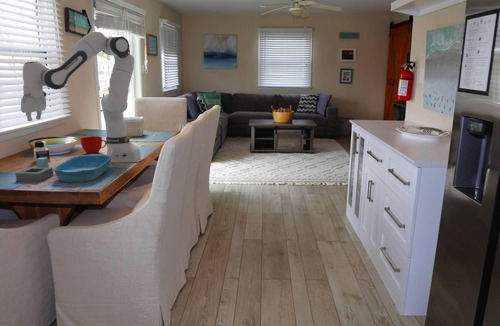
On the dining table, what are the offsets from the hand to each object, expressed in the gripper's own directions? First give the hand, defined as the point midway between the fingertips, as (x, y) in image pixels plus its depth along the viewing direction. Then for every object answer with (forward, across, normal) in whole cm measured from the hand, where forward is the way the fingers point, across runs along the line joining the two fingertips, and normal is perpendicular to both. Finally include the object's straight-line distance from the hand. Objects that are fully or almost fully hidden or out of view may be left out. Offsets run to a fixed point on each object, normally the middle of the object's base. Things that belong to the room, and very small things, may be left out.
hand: (34, 120), depth 210 cm
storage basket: (+22, +115, -22) cm, 119 cm away
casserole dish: (+26, -7, -28) cm, 39 cm away
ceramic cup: (+25, +46, -16) cm, 55 cm away
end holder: (+28, -13, -6) cm, 31 cm away
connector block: (+27, +1, -3) cm, 28 cm away
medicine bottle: (+27, +26, +8) cm, 38 cm away
